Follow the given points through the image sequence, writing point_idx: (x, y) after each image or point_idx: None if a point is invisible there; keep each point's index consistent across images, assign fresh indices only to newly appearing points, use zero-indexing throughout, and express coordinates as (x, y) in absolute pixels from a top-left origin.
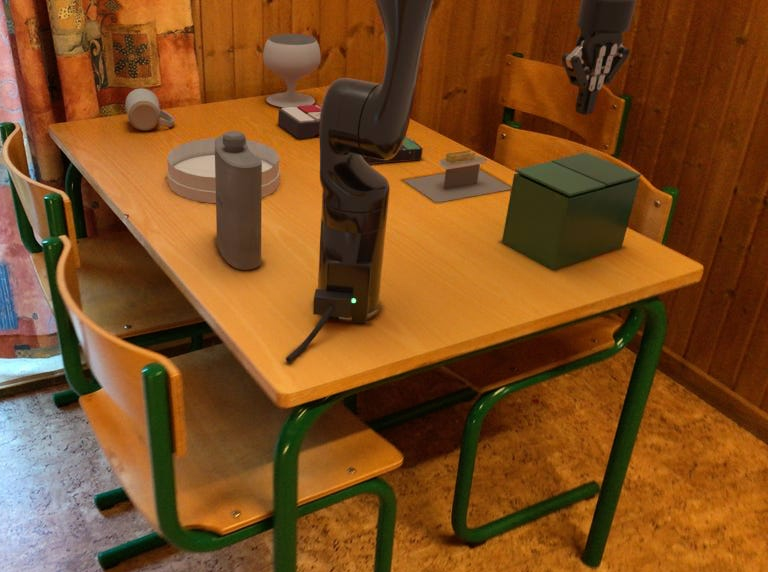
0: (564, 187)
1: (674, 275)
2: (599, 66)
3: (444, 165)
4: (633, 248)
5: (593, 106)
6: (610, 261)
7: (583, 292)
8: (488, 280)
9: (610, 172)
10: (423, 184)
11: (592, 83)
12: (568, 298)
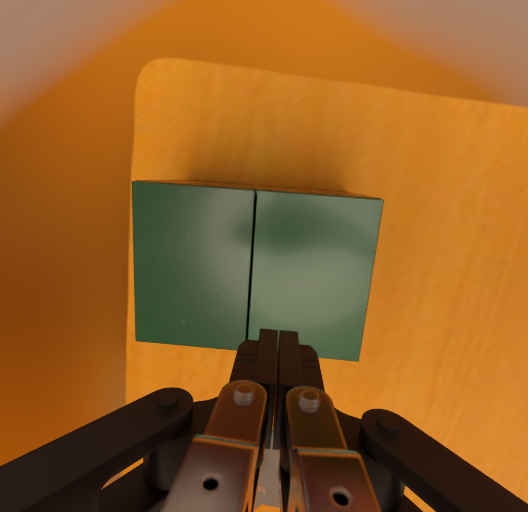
0: (359, 233)
1: (195, 64)
2: (333, 510)
3: (261, 496)
4: (172, 167)
5: (262, 339)
6: (243, 159)
7: (370, 114)
8: (454, 226)
9: (186, 231)
10: (271, 485)
11: (320, 417)
12: (406, 114)
